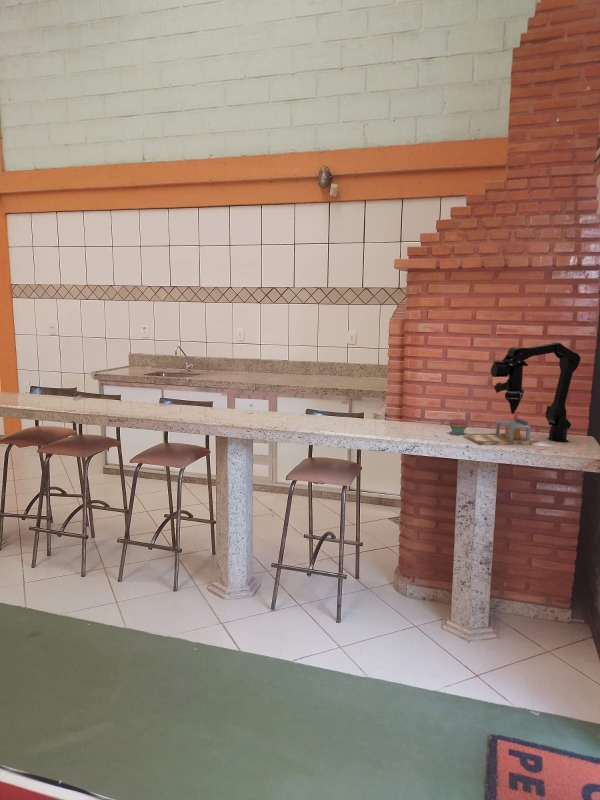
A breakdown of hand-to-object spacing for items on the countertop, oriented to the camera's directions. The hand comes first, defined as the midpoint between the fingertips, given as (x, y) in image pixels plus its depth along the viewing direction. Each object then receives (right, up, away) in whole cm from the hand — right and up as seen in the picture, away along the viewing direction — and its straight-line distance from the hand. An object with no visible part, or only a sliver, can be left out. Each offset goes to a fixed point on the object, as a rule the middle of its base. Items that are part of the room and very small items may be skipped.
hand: (513, 411), depth 251 cm
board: (-6, -13, +1) cm, 14 cm away
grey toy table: (0, -11, +2) cm, 11 cm away
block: (0, -13, +2) cm, 13 cm away
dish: (+10, -14, -6) cm, 18 cm away
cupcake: (-20, -11, +15) cm, 27 cm away
